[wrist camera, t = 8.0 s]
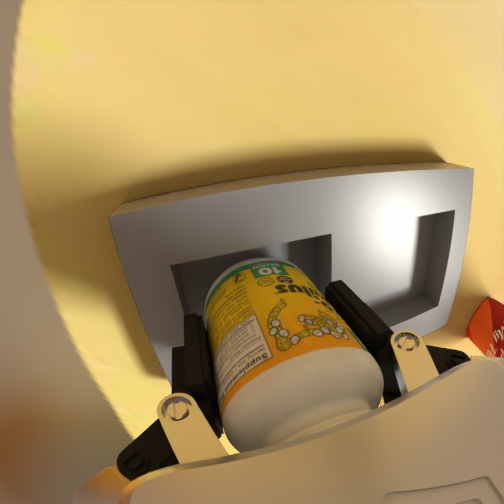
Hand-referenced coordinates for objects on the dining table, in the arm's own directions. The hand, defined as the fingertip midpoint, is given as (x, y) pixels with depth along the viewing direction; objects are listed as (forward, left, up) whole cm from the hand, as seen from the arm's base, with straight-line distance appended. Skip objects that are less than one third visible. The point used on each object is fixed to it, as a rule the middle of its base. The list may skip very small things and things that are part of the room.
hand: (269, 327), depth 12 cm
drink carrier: (0, +4, -4) cm, 6 cm away
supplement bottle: (0, 0, -2) cm, 2 cm away
